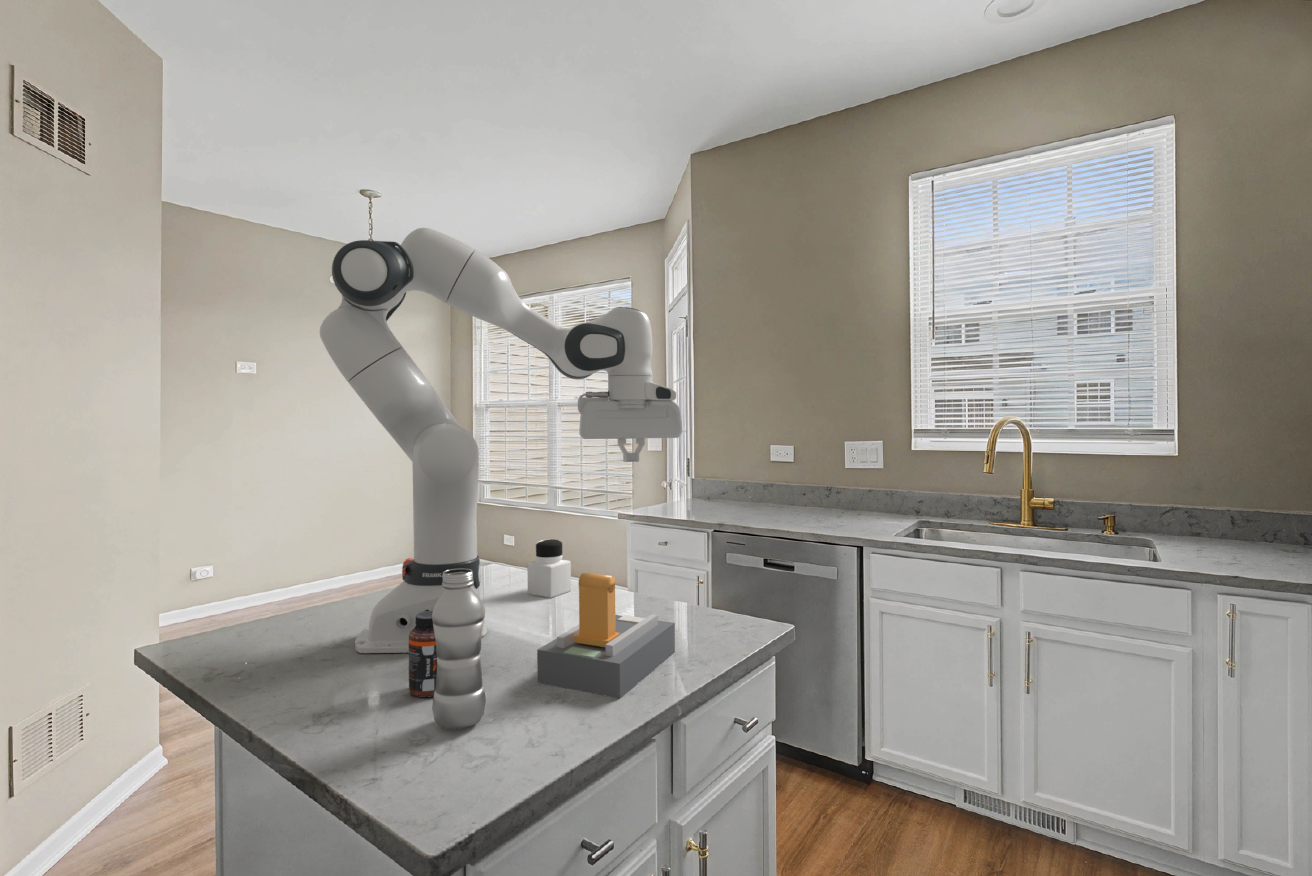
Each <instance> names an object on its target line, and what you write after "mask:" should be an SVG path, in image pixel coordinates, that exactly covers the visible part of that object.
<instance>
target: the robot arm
mask: <svg viewBox="0 0 1312 876" xmlns="http://www.w3.org/2000/svg"><path fill="white" fill-rule="evenodd" d="M331 278H332V281H333V283H334V286H335V287H336V289H337V291H338V292H339V293H340V295H341V302H340V305H339V306H338V307H337V309H335V310H333V311H331V312H330V313H329V314H328V315H327V316H326V317H325V318H324V320H323V321H322V322H321V324H320V327H319V337H320V339H321V342H322V344H323V345H324V348H325V350H326V352H327V353H328V355H329V357H330V358H331V360H332V362H333V363H334V365H335V367H336V368H337V369H338V371H339V372H340V373H341V375H342V376H343V378H344V379H345V381H346V382H348V384H349V386H350V387H351V388H352V389H353V391H354V392H355V393H356V394H357V396H358V397H359V398H360V400H361V401H362V402H363V403H364V405H365V406H366V407H367V408H368V409H369V411H370V412H371V413H372V414H373V416H374V417H375V418H376V420H377V421H378V422H379V424H381V426H382V427H383V428H384V429H385V431H387V432H388V434H389V435H390V437H392V439H393V440H394V441H395V442H396V444H397V445H398V446H399V448H401V450H402V451H403V452H404V453H405V455H406V456H407V457H408V458H409V460H410V461H411V463H412V502H413V503H412V509H413V513H412V515H413V518H412V519H413V521H412V522H413V558H411V557H408V558H406V559H405V560H404V562H403V563H402V568H401V569H402V570H401V573H402V574H401V577H402V580H403V581H402V582H401V583H400V584H398V585H397V586H396V587H395V588H394V589H392V590H391V591H389V592H388V593H387V594H386V595H384V597H382V598H381V599H380V600H379V601H378V602H377V603H376V604H375V606H374V607H373V609H372V611H371V615H370V618H369V622H368V623H369V624H368V627H366V628H364V629H363V630H362V631H361V632H360V633H358V635H357V636H356V638H355V641H354V649H355V651H356V652H358V653H360V654H384V653H385V654H387V653H389V654H391V653H393V654H397V653H398V654H399V653H404V654H405V653H409V633H410V632H411V630H413V629H414V628H415V626H416V624H415V622H416V618H415V617H416V615H417V614H418V613H421V612H425V611H433V609H434V607H435V605H436V603H437V601H438V600H439V598H440V597H441V595H442V594H443V593H444V590H445V588H443V587H442V582H443V572H444V571H447V570H451V569H471V570H472V572H473V580H474V585H473V586H471V587H472V590H473V591H474V592H475V593H476V594H477V595H478V597H479V598H480V599H481V596H480V586H481V574H482V573H481V561H480V556H479V555H478V526H477V523H478V521H477V518H478V517H477V515H478V513H477V511H478V495H479V494H478V493H479V492H478V491H479V469H480V468H479V460H480V458H479V455H480V451H479V446H478V444H477V442H476V441H477V440H476V439H475V437H474V436H473V435H472V434H471V433H470V432H469V431H468V430H467V429H465V427H462V426H461V425H460V423H459V422H458V421H457V420H456V418H455V417H454V415H453V414H452V412H451V411H450V410H449V408H448V406H447V405H446V404H445V403H444V401H443V400H442V399H441V397H440V395H439V394H438V393H437V391H436V390H435V388H434V386H433V385H432V384H431V382H430V381H429V380H428V378H427V377H426V376H425V374H424V373H423V371H421V369H420V367H419V366H418V365H417V364H416V363H415V361H414V360H413V358H412V357H411V356H410V354H408V352H407V351H406V349H405V348H404V347H403V345H402V344H401V343H400V341H399V340H398V339H397V337H396V336H395V335H394V333H393V332H392V330H391V329H390V327H389V325H388V322H387V321H389V319H390V318H391V316H392V315H393V314H394V313H395V312H396V311H397V309H398V308H399V307H400V306H401V305H402V303H403V302H404V300H405V298H406V295H407V292H412V291H419V292H424V293H426V294H429V295H432V296H433V297H435V298H436V299H438V300H440V301H442V302H443V303H445V304H447V305H448V306H450V307H452V308H455V309H456V310H458V311H459V312H462V313H464V314H466V315H468V316H471V317H473V318H476V319H479V320H482V321H483V322H486V323H488V324H490V325H493V326H497V327H498V328H501V329H503V330H504V331H507V332H508V333H510V334H512V335H513V336H515V337H517V338H518V339H521V340H522V341H523V342H525V343H527V344H528V345H530V346H532V347H534V348H535V349H537V350H539V351H540V352H541V353H543V354H544V355H545V356H546V357H547V358H548V359H549V360H550V362H551V364H553V366H554V367H555V369H556V370H557V371H558V372H559V373H560V374H562V375H563V376H564V377H566V378H569V379H572V380H582V379H586V378H589V377H591V376H592V375H593V374H596V373H598V372H600V371H602V372H603V371H604V372H607V383H608V384H607V385H608V386H607V389H608V390H607V391H585V393H582V394H580V396H579V397H578V399H577V410H578V412H579V414H580V418H579V430H578V431H579V432H578V434H579V436H580V437H581V439H584V440H601V439H603V440H604V439H605V440H611V439H612V440H614V439H617V446H618V447H619V449H620V451H621V452H622V459H623V461H622V462H624V463H639V462H640V453H641V451H642V450H643V448H644V446H645V442H646V440H645V439H679V438H680V436H681V435H682V433H683V421H682V414H681V409H680V405H679V404H678V403H677V402H676V401H675V400H676V399H677V391H676V389H673V388H671V387H669V386H668V387H667V386H665V385H662V384H658V383H655V382H654V374H653V370H652V358H653V355H654V353H653V352H654V351H653V350H654V349H653V348H654V347H653V331H652V325H651V321H650V318H649V316H648V315H647V314H646V313H645V312H644V311H642V310H639V309H637V308H633V307H625V306H624V307H622V306H617V307H613V308H612V309H611V310H610V311H609V312H607V313H605V314H604V315H602V316H599V317H598V318H595V319H593V320H589V321H586V322H582V323H579V324H577V325H574V326H573V327H572V328H566V327H562V326H561V325H558V324H557V323H556V322H554V321H552V320H550V319H549V318H547V317H545V316H544V315H542V314H540V313H539V312H537V310H534V309H533V308H531V307H530V306H529V305H527V304H526V303H525V302H524V301H523V300H522V299H521V297H519V296H520V295H518V293H517V291H516V289H515V288H514V285H513V283H512V281H511V278H510V276H509V275H508V273H507V271H505V270H504V269H503V268H502V267H501V266H500V265H498V264H497V262H494V260H492V259H491V258H489V256H486V255H485V254H483V253H482V252H480V251H478V250H476V248H473V247H472V246H470V245H469V244H466V243H465V242H462V241H460V240H458V239H456V238H454V237H452V236H449V235H447V234H446V233H443V232H440V231H438V230H435V229H433V228H429V227H419V228H416V229H414V230H412V231H410V233H409V234H408V235H406V236H405V238H404V239H403V241H402V242H401V244H400V243H398V242H396V241H389V240H388V241H387V240H385V241H384V240H372V239H371V240H370V239H369V240H368V239H367V240H366V239H363V240H360V239H359V240H355V241H351V242H348V243H346V244H345V245H343V246H342V247H341V248H340V249H339V250H338V251H337V253H336V254H335V256H334V258H333V260H332V265H331ZM627 439H635V444H636V445H637V447H635V450H634V452H628V451H627V449H626V447H625V446H624V445H627ZM487 632H488V626H487V624H486V621H485V619H484V624H483V631H482V637H483V636H485V635H486V634H487Z"/></svg>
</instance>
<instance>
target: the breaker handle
mask: <svg viewBox="0 0 1312 876" xmlns="http://www.w3.org/2000/svg"><path fill="white" fill-rule="evenodd" d="M615 615H616V578H615V576H614V575H607V574H598V573H589V572H581V574H580V576H579V578H578V619H579V620H578V621H579V622H578V623H579V624H578V625H579V633H578V634H576V635H574V642H575V643H581V644H588V645H594V646H600V647H605V645H606V644H607V643H609V642H610V641H612V640H613V639H615V638H616V637H618V636H619V635H621V633H617V632H615Z"/></svg>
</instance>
